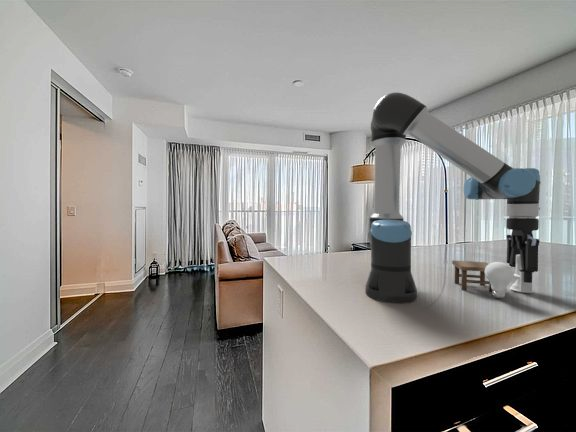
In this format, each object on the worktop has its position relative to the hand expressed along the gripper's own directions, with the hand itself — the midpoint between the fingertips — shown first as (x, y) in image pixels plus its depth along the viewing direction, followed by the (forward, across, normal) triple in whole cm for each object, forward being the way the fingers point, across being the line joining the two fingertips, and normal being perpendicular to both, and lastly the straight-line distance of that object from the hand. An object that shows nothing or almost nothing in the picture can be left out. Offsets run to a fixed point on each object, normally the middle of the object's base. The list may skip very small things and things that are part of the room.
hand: (520, 289), depth 80 cm
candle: (+1, 0, 0) cm, 1 cm away
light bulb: (+1, -10, +10) cm, 14 cm away
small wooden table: (+1, 0, +13) cm, 13 cm away
